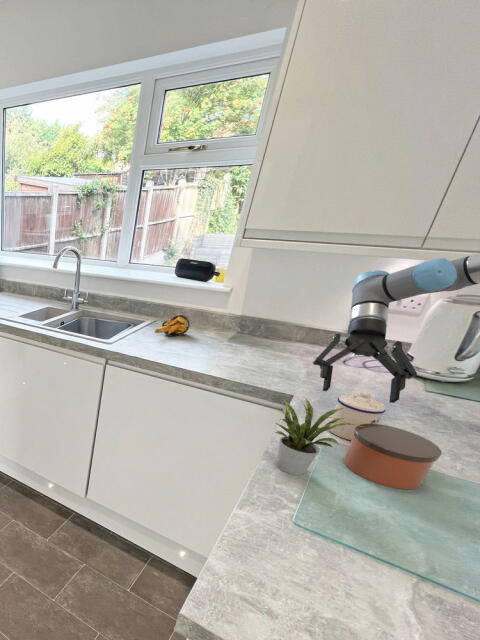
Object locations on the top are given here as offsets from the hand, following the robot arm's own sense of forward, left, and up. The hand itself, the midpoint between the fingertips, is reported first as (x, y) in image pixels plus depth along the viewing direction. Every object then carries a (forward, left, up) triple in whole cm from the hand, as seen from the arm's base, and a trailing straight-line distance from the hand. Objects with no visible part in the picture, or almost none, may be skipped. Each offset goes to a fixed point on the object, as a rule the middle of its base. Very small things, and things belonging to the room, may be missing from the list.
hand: (359, 395), depth 107 cm
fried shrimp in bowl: (+49, -60, -9) cm, 78 cm away
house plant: (+14, +30, -9) cm, 35 cm away
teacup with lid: (0, +4, -9) cm, 10 cm away
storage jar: (-2, +22, -9) cm, 24 cm away
